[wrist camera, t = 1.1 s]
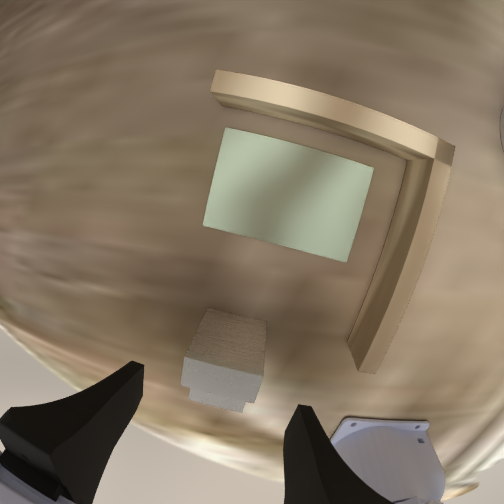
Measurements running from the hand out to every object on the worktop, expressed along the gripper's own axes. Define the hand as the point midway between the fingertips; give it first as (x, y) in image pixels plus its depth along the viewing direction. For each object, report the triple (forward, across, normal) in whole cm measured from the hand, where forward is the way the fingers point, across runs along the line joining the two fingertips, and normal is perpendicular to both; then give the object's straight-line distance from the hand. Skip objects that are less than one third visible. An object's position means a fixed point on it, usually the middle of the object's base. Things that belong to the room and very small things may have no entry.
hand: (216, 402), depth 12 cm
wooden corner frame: (+8, -3, -8) cm, 11 cm away
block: (+8, 0, +3) cm, 9 cm away
